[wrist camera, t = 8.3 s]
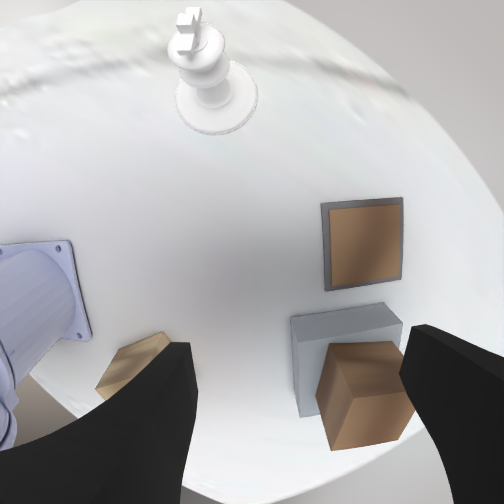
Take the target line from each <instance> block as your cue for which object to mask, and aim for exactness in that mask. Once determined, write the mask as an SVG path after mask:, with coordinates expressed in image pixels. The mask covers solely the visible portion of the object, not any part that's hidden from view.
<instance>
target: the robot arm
mask: <svg viewBox="0 0 504 504" xmlns="http://www.w3.org/2000/svg"><path fill="white" fill-rule="evenodd" d="M59 246H60V247H61V251H60V250H59ZM79 333H80V334H81V335H82V336H81V335H80V334H79ZM91 337H92V335H91V331H90V328H89V324H88V321H87V317H86V313H85V310H84V306H83V302H82V298H81V293H80V289H79V285H78V280H77V275H76V270H75V265H74V260H73V254H72V248H71V244H70V243H69V242H68V241H65V240H64V241H49V242H35V243H21V244H8V245H0V504H180V494H181V484H182V478H183V473H184V468H185V464H186V459H187V455H188V450H189V446H190V442H191V437H192V433H193V428H194V424H195V419H196V410H197V399H198V388H197V382H196V376H195V371H194V365H193V359H192V352H191V346H190V343H189V342H170V343H169V344H168V345H167V346H166V347H165V348H164V349H163V350H162V351H161V352H160V353H159V354H158V355H157V356H156V357H155V358H154V359H153V360H152V361H151V362H150V363H149V364H148V365H147V366H146V367H145V368H143V369H142V370H141V371H140V372H139V373H138V374H137V375H136V376H135V377H134V378H133V379H132V380H131V381H129V382H128V383H127V384H126V385H125V386H123V387H122V388H121V389H120V390H119V391H117V392H116V393H115V394H114V395H112V396H111V397H110V398H109V399H107V400H106V401H105V402H103V403H102V404H101V405H99V406H98V407H96V408H95V409H93V410H92V411H90V412H89V413H87V414H86V415H84V416H83V417H81V418H79V419H78V420H76V421H74V422H72V423H70V424H68V425H67V426H64V427H62V428H61V429H59V430H57V431H55V432H53V433H51V434H49V435H46V436H44V437H42V438H39V439H37V440H34V441H31V442H29V443H26V444H23V445H20V446H17V447H14V448H12V447H13V444H14V441H15V438H16V433H17V423H16V419H15V417H14V415H13V413H12V410H13V409H14V408H15V406H16V405H17V404H18V402H19V399H18V398H17V396H16V393H15V391H14V390H15V389H16V388H17V386H18V385H19V384H20V383H21V382H22V380H23V379H24V378H25V377H26V376H27V375H28V373H29V372H30V371H31V370H32V369H33V368H34V366H35V365H36V364H37V363H38V362H39V361H40V360H41V358H42V357H43V356H44V355H45V354H46V353H47V352H48V351H49V349H50V348H51V347H52V346H53V345H54V344H55V343H56V342H57V341H58V340H59V338H62V339H70V340H78V341H89V340H90V339H91ZM399 376H400V378H401V381H402V384H403V386H404V389H405V391H406V393H407V396H408V398H409V399H410V401H411V403H412V405H413V406H414V408H415V410H416V412H417V413H418V415H419V417H420V418H421V420H422V422H423V424H424V425H425V427H426V429H427V431H428V432H429V434H430V436H431V438H432V439H433V441H434V443H435V445H436V447H437V449H438V452H439V454H440V457H441V460H442V462H443V465H444V468H445V471H446V474H447V477H448V481H449V484H450V488H451V492H452V497H453V501H454V504H504V357H502V356H499V355H497V354H494V353H492V352H489V351H487V350H485V349H482V348H480V347H478V346H476V345H473V344H471V343H469V342H467V341H465V340H463V339H460V338H458V337H456V336H454V335H452V334H450V333H447V332H445V331H443V330H440V329H438V328H435V327H433V326H430V325H427V324H424V325H418V326H412V327H411V331H410V335H409V339H408V343H407V347H406V350H405V354H404V358H403V361H402V364H401V368H400V371H399Z"/></svg>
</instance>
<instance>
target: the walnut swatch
mask: <svg viewBox="0 0 504 504" xmlns="http://www.w3.org/2000/svg"><path fill="white" fill-rule="evenodd" d="M321 212H322V228H323V247H324V274H325V291H333V290H339V289H346V288H353V287H359V286H365V285H371V284H377V283H383V282H389V281H395V280H401V277H402V260H403V198H402V197H400V198H383V199H369V200H355V201H342V202H330V203H321Z"/></svg>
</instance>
